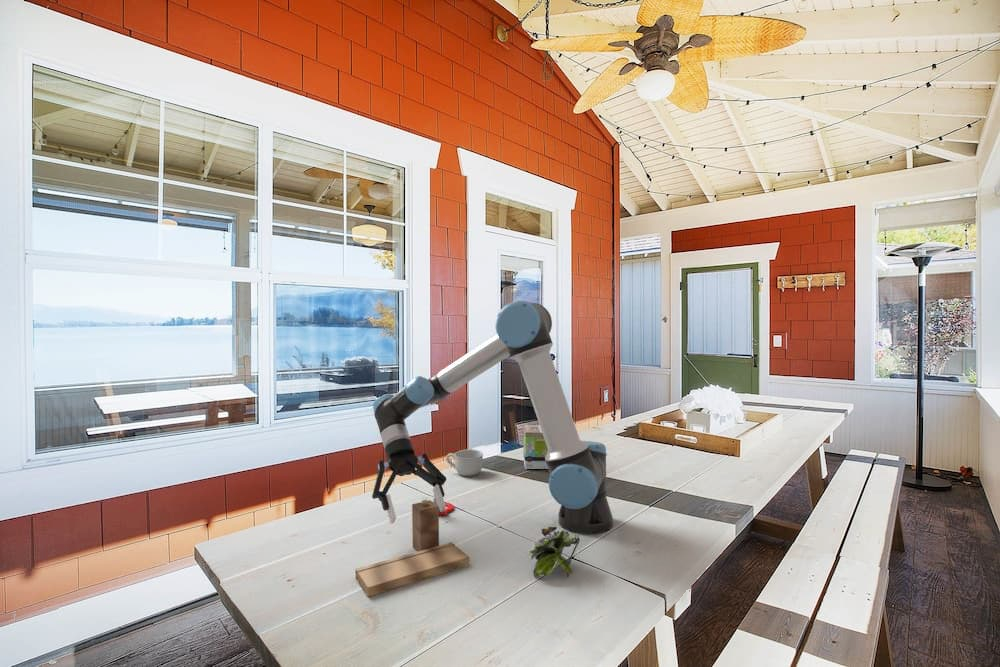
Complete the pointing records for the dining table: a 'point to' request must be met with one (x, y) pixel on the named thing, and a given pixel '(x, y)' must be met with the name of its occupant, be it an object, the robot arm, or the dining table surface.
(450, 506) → the tow hook
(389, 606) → the dining table surface
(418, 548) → the block
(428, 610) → the dining table surface
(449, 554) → the board
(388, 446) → the robot arm
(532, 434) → the tea box
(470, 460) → the teacup
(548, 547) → the passion flower
